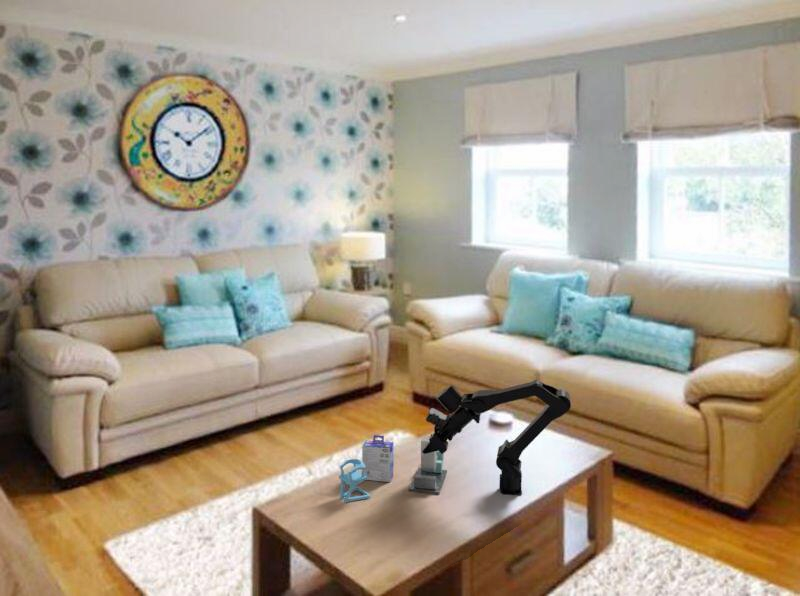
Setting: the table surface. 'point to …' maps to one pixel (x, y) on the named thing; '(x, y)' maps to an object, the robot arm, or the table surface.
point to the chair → (352, 480)
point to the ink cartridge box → (378, 459)
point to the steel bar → (428, 457)
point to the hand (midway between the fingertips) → (424, 449)
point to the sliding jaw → (439, 462)
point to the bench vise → (427, 482)
